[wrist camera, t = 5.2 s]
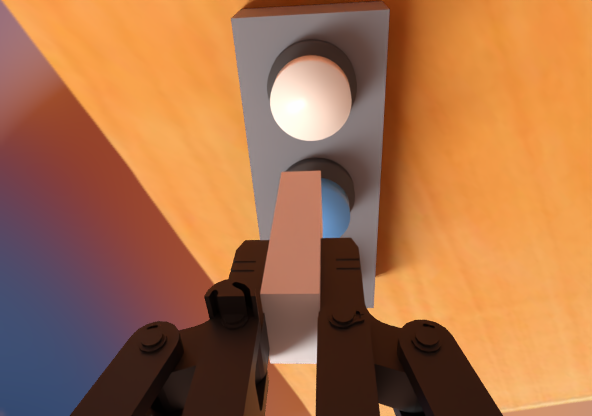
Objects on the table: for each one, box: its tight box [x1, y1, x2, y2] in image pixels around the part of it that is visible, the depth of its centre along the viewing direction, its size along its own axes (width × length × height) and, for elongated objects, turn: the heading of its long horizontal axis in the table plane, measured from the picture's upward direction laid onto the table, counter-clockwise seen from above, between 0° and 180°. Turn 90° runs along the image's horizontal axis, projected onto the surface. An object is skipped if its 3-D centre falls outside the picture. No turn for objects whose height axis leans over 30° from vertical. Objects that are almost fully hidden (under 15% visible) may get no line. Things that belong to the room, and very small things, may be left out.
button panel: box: [231, 1, 390, 308], centre depth 35 cm, size 10×26×5 cm, turn 3°
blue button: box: [321, 178, 350, 238], centre depth 31 cm, size 5×5×2 cm
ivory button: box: [270, 55, 352, 141], centre depth 27 cm, size 5×5×2 cm
